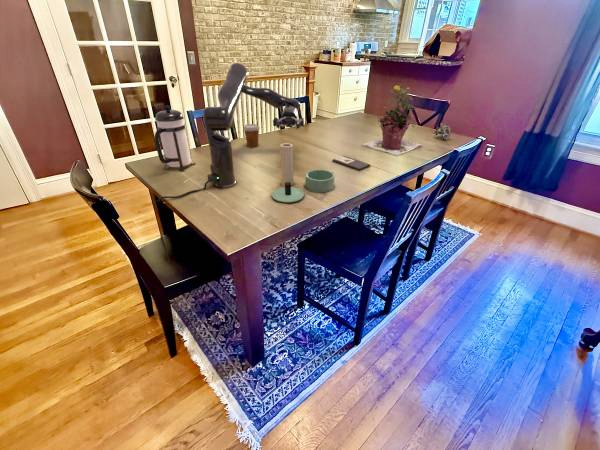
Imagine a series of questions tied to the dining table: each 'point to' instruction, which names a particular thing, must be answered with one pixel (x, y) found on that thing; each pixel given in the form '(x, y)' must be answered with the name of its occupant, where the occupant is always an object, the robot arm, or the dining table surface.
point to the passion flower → (443, 131)
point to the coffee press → (172, 139)
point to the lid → (288, 194)
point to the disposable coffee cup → (251, 134)
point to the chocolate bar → (351, 163)
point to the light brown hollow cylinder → (286, 163)
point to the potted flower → (395, 126)
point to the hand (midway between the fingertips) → (287, 126)
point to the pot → (319, 180)
